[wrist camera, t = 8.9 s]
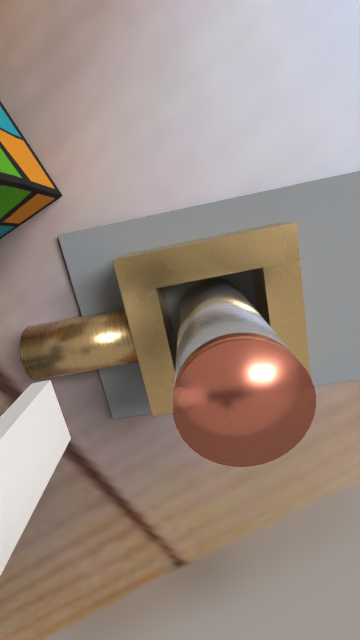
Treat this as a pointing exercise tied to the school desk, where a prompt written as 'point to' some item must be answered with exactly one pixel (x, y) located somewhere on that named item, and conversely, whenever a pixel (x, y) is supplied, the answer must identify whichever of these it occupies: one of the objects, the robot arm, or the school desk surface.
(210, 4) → the school desk surface
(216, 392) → the copper-capped silver cylinder
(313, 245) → the mat
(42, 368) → the fitting socket
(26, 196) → the toy
